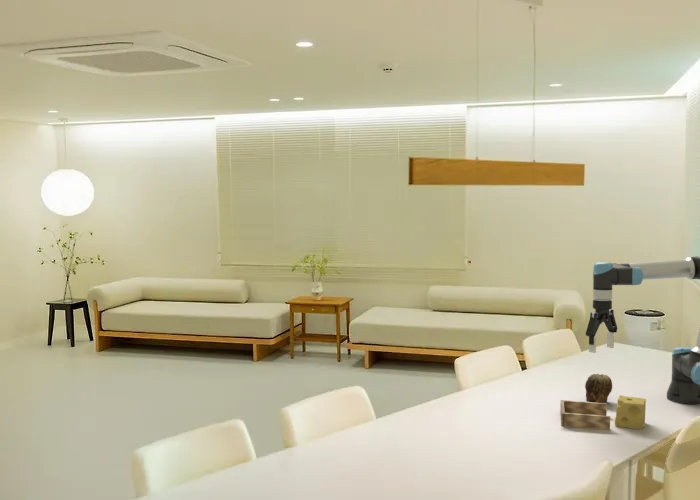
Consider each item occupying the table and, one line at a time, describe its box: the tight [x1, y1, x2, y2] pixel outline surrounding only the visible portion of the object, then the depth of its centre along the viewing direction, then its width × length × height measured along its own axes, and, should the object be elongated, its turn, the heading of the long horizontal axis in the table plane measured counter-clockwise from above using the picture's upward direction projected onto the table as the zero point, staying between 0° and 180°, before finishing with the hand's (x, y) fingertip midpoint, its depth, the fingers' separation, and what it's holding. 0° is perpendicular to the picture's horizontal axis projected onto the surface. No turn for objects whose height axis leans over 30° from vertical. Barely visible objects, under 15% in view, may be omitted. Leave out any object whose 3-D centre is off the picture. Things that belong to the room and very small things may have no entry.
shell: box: [584, 373, 613, 404], centre depth 304 cm, size 11×11×12 cm
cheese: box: [614, 395, 647, 431], centre depth 274 cm, size 10×11×10 cm
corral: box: [559, 399, 611, 431], centre depth 279 cm, size 18×18×5 cm
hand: (601, 349), depth 293 cm, fingers open, 13 cm apart
